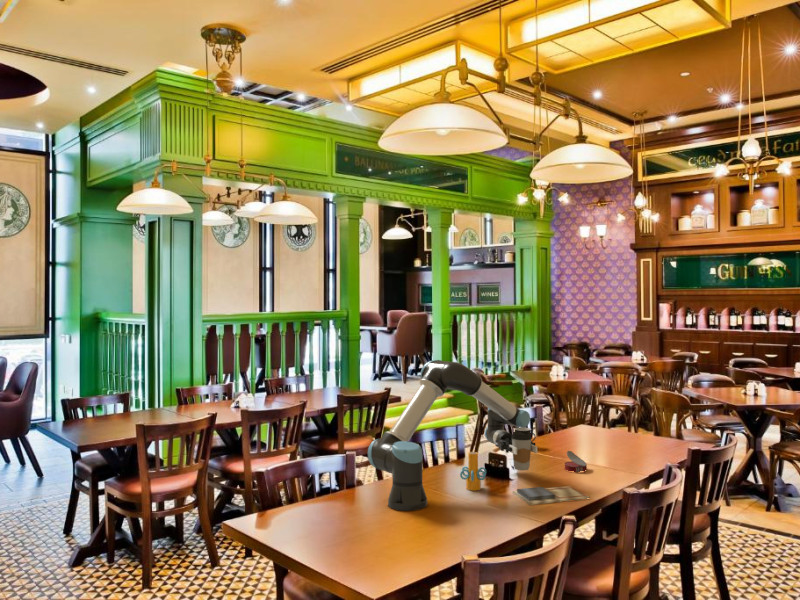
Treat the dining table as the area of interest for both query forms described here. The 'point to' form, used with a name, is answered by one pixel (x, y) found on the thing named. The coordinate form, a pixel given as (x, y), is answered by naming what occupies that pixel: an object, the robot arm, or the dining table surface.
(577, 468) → the canned food
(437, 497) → the dining table surface
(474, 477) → the orange box with loops
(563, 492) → the board
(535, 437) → the coffee mug
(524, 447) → the coffee cup
